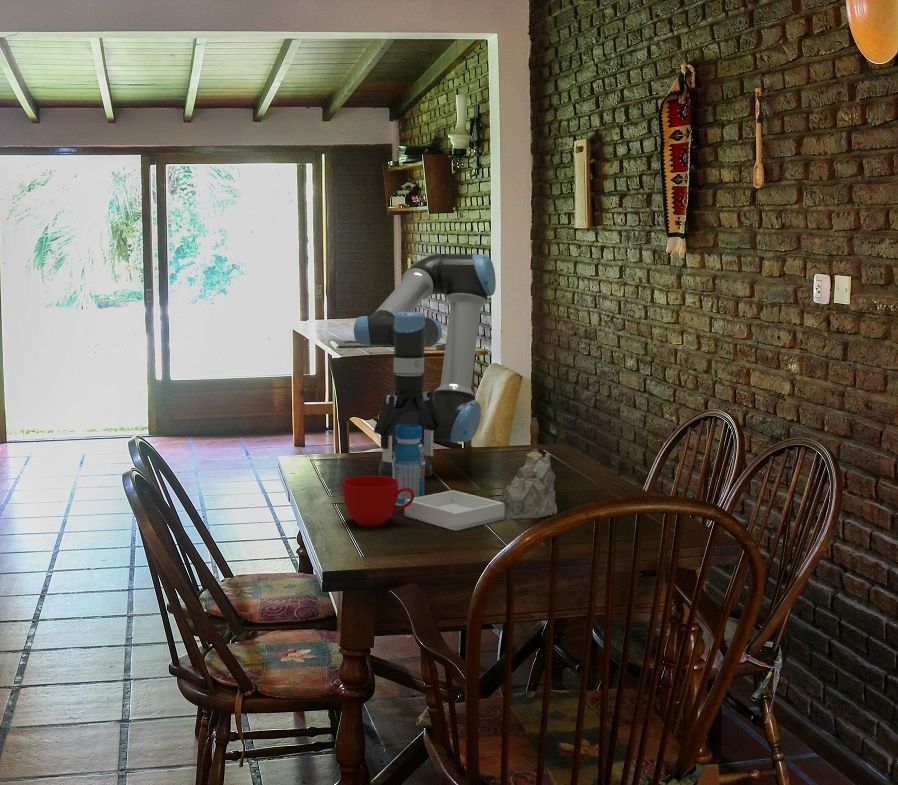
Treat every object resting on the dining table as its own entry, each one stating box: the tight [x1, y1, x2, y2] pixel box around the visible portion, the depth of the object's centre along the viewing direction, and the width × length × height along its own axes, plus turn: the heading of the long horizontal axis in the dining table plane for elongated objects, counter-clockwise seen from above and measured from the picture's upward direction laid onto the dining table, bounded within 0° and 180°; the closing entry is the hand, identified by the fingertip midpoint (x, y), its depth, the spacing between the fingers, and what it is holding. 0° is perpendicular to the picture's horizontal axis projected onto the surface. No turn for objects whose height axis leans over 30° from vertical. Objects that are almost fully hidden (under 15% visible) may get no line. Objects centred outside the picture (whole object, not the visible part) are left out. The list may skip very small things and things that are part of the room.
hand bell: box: [523, 417, 544, 467], centre depth 317 cm, size 8×8×16 cm
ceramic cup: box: [342, 475, 414, 527], centre depth 259 cm, size 13×17×10 cm
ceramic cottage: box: [500, 452, 558, 520], centre depth 272 cm, size 16×16×15 cm
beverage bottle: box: [392, 424, 425, 507], centre depth 278 cm, size 8×8×20 cm
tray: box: [404, 489, 505, 531], centre depth 265 cm, size 18×16×4 cm
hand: (408, 458), depth 277 cm, fingers open, 13 cm apart
